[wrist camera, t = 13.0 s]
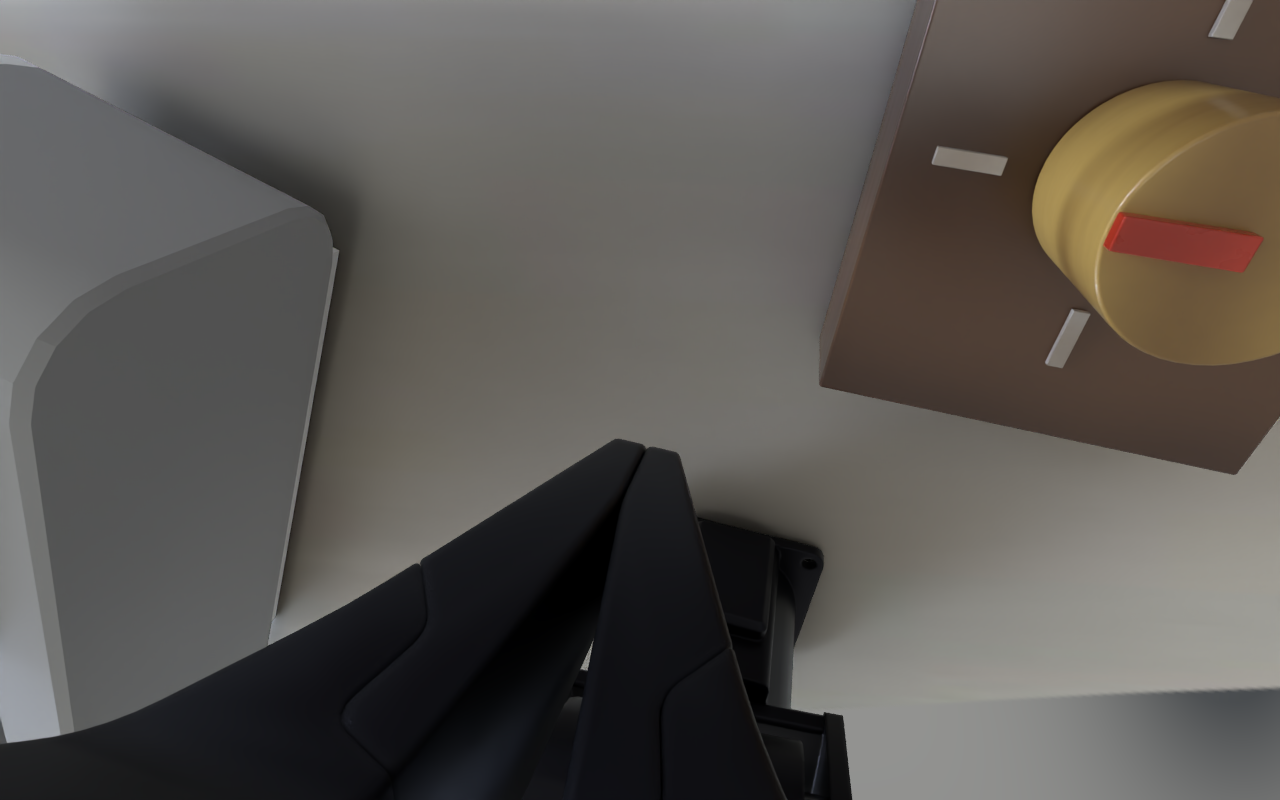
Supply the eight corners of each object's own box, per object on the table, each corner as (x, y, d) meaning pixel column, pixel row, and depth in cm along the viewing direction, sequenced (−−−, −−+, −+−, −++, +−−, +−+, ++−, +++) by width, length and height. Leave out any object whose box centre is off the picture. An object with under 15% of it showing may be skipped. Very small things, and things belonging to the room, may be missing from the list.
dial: (1315, 96, 12) (1520, 136, 9) (1196, 298, 14) (1321, 398, 11) (1082, 65, 13) (1183, 91, 9) (1000, 264, 15) (1057, 349, 11)
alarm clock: (95, 40, 21) (-588, 78, 11) (369, 181, 21) (-45, 349, 11) (120, 573, 35) (-153, 796, 26) (280, 652, 36) (71, 902, 26)
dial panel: (1180, 412, 19) (1239, 480, 16) (819, 338, 20) (818, 389, 17) (1537, -134, 12) (1733, -170, 10) (970, -188, 14) (1006, -234, 11)
